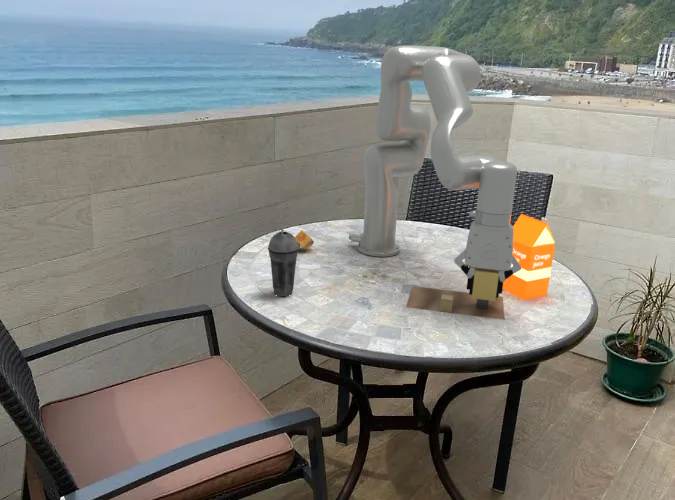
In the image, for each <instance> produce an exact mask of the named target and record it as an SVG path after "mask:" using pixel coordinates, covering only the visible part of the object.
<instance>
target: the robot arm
mask: <svg viewBox="0 0 675 500" xmlns="http://www.w3.org/2000/svg"><path fill="white" fill-rule="evenodd" d="M477 61H478V60H476V59H475V58H474V57H472V55H468V54H466V53H464V52H460V51H457V50H455V49H451V48H450V47H444V46H430V45H429V46H427V45H410V44H409V45H406V44H405V45H404V44H403V45H397V46H393V47H390V48H388V49H387V51H386V52H385V53H384V55H383V57H382V60H381V62H380V92H379V98H378V105H377V110H376V116H375V121H374V122H375V123H374V133H375V136H376V137H377V138H378V139H380V140H382V141H387V142H386V143H385V142H384V143H383V142H382V143H376V144H372V145H371V146H369V147H368V148H367V149H366V150H365V151H364V154H363V161H362V162H363V168H364V178H365V181H364V182H365V188H364V190H365V193H364V212H363V213H364V214H363V215H364V216H363V230H362V231H363V232H362V233H359V234H356V233H349V235H348V240H350V242H352V243H353V242H354V243H358V244H357V250H358V252H359V253H362V254H363V255H366V256H371V257H378V258H380V257H381V258H384V257H385V258H386V257H392V256H396V255H398V254H399V253H400V252H401V248H400V246H399V244H397V243H396V234H397V232H396V231H397V219H398V216H397V215H398V205H399V204H398V201H399V190H398V188H397V186H396V184H395V183H394V181H393V178H396V177H406V176H408V177H409V176H413V175H416V174H418V173H419V172H420V170H421V169H422V167H423V165H424V161H425V157H426V152H427V147H428V143H429V140H430V139H429V138H430V135H431V129H432V128H431V127H432V123H431V122H432V121H431V116H430V113H429V111H428V110H427V108H425V107H423V106H421V105H417V104H413V105H411V101H412V99H413V98H412V97H413V88H412V85H411V83H410V81H412V82H414V81H416V82H423V84H424V86H425V89H426V92H427V96H428V98H429V102H430V103H431V107H432V109H433V114H434V116H435V118H436V122H437V124H436V126H435V128H434V131H433V132H432V137H431V143H430V144H431V145H430V158H431V161H432V164H433V168H434V170H435V173H436V176H437V178H438V180H439V182H440V184H441V185H442V186H443V187H444V188H445V189H447V190H450V191H463V190H465V191H466V190H477V189H478V192H477V193H478V194H477V200H476V201H477V202H476V209H474V210H470V211H469V213H468V217H469V218H472V219H474V220H472V222H471V224H470V226H469V231H468V235H467V240H466V245H465V247H466V248H465V249H464V250H462V251H461V252H460V253H459V254H458V255H457V256H456V257H454V261H453V262H454V264H456V266H458V268H460V270H461V271H462V272H463V273H464V274H465V276H466V277H467V282H466V291H467V290H468V291H469V292H468V293H469V295H472V291H473V283H474V272H475V269H476V268H477V269H486V270H496V271H498V272H499V277H498V285H497V293H496V298H498V297H499V295H500V294H503V290H504V289H503V282H504V281H505V280H506V279H507V278H509V277H510V276H511V275H513V274H514V273H516V272H518V271H519V270H521V265H520V263H519V262H518V261H517V259H516V258H515V256H514V255H513V245H514V229H513V226H514V225H512V224H511V221H512V214H513V213H512V211H513V205H514V198H515V190H516V182H517V176H518V175H517V174H518V170H517V166H516V165H515V164H514V163H512V162H507V161H504V160H503V161H501V160H499V159H497V158H495V157H494V156H491V155H489V154H476V155H475V154H474V155H473V154H472V155H471V154H470V155H469V154H468V155H456V152H455V150H454V147H453V144H452V143H453V142H452V132H453V130H455V129H457V128H458V127H460V126H462V125H463V124H465V123H466V122H467V121H469V119H471V117H472V115H473V113H474V108H473V105H472V103H471V101H470V98H469V94H468V92H472V91H473V90H475V89H476V88H477V87H478V86H479V84H480V82H481V77H482V76H481V75H482V72H481V68H480V67H481V66H480V64H479V63H478V62H477ZM391 141H392V142H391ZM399 141H402V142H399ZM463 260H464V261H463ZM511 264H513V267H511Z"/></svg>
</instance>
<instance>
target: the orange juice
mask: <svg viewBox="0 0 675 500" xmlns="http://www.w3.org/2000/svg"><path fill="white" fill-rule="evenodd" d="M512 226H513V229H514V245H513V255H514V256H515V258H516V259H517V261H518V262H519V263H520V265H521V270H519V271H518V272H516V273H514V274H513V275H511V276H510V277H509V278H507V279H506V280H505V281H504V282H503V289H502V290H505V291H506V292H508V293H510V294H512V295H514V296H516V297H518V298H520V299H521V300H524V301H525V300H529V299H534V298H539V297H543V296H547V295H548V291H549V285H550V284H549V283H550V278H551V273H552V267H553V261H554V255H555V248H556V242H555V239H554V237H553V234H552V231H551V229H550V226H549V223H548V222H547V223H545V222H543V221H541V220H539V219H537V218H534V217H531V216H529V215H526V214H523V213H520V215H519V216H518V218H517V220H516V222H515V223H514V225H512ZM511 267H513V264H511Z"/></svg>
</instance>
